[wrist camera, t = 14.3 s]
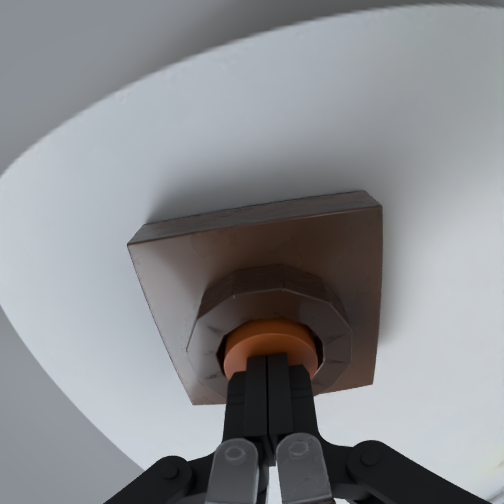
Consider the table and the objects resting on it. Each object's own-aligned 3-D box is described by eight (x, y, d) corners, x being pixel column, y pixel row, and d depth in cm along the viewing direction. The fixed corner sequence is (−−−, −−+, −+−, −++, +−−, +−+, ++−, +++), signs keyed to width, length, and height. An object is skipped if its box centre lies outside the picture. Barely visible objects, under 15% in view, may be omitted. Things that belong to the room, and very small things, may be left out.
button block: (142, 224, 14) (107, 265, 11) (365, 189, 13) (402, 222, 10) (197, 378, 18) (187, 431, 15) (364, 357, 17) (381, 410, 14)
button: (219, 306, 13) (213, 339, 11) (308, 294, 13) (316, 327, 11) (236, 367, 15) (234, 400, 13) (313, 358, 14) (319, 391, 12)
